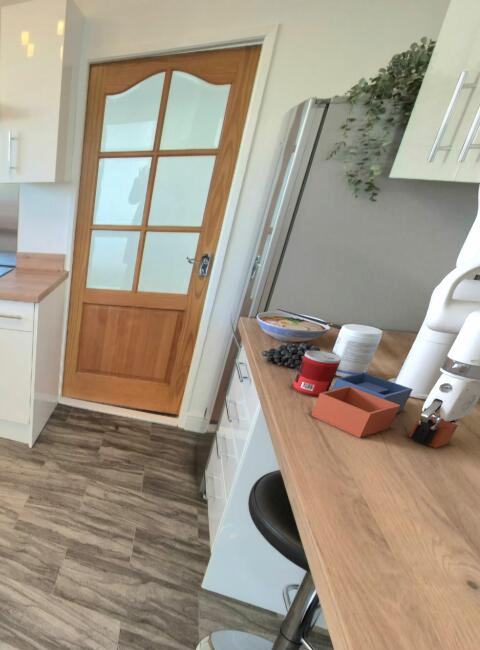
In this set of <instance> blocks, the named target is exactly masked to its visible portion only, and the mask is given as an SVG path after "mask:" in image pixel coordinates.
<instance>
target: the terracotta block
mask: <svg viewBox="0 0 480 650" xmlns="http://www.w3.org/2000/svg"><path fill="white" fill-rule="evenodd" d="M431 420H433V424H434V422H435V421H436V420H437V419H435V418H433V417H431ZM419 421H420V417H419V418H417V419H416V422H415V423H414V425H413V427H412V429H411V431H410V433H409V435H408V438H411V436H412V434H413V433H414V431H415V429H416V427H417V425H418V422H419ZM458 427H459V425H458V424H457V423H453V422H452V423H451V422H448V421H444V420H442V421H441V423H440V424H439V425H438V426H437V428H436V430H437V432H436V434H435V435H434V437H433V439H432V441H431V442H430V444H428V445H427V446H429V447H431V448H434V449H436V448H439V447H442V446H445V445H448V444H449V442H450V441H451V438H453V435H454V434H455V432H456V430H457V428H458ZM411 439H412V438H411Z"/></svg>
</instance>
